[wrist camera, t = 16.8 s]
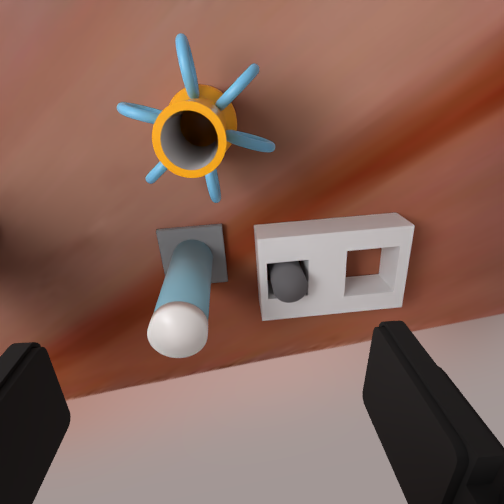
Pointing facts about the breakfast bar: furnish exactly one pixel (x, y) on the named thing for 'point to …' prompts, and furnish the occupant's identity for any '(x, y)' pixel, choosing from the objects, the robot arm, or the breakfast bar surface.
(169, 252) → the mat
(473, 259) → the breakfast bar surface
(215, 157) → the cylinder
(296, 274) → the plunger
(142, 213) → the breakfast bar surface
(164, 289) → the cartridge
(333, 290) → the housing
